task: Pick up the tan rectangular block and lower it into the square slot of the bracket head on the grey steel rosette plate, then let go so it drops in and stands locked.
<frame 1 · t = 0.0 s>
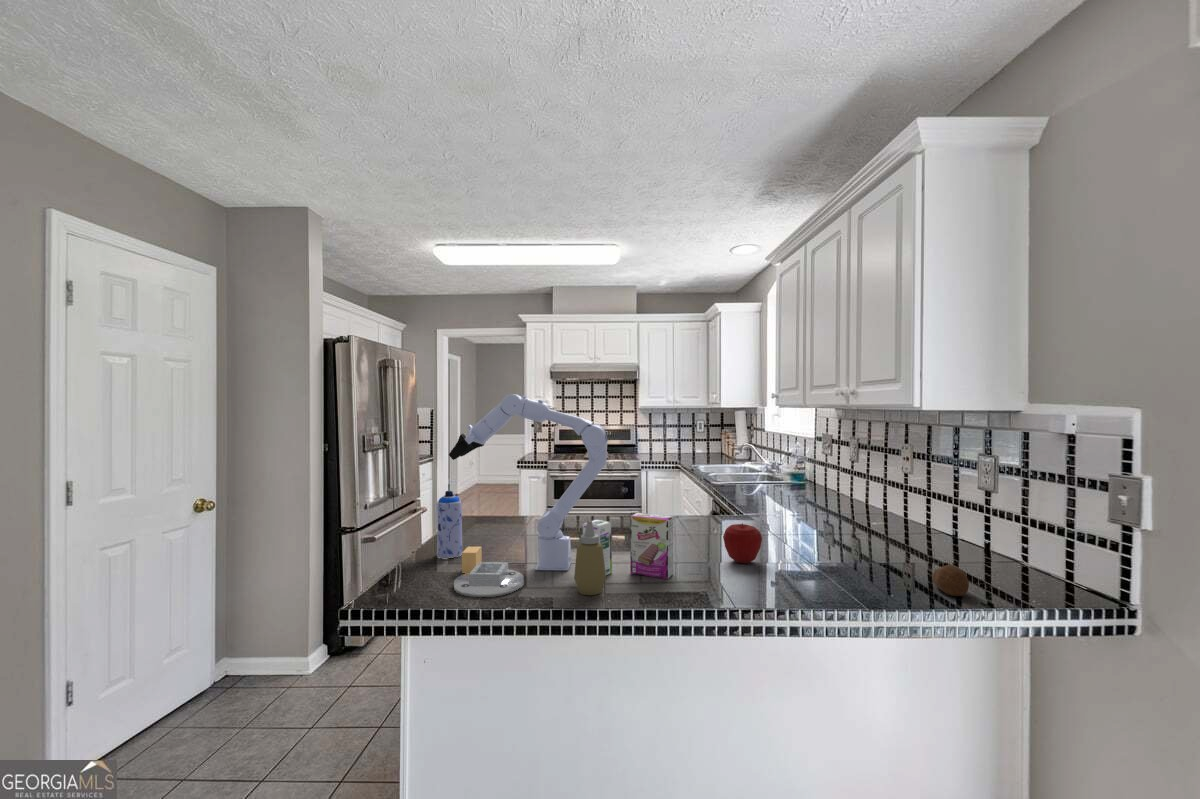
hand: (455, 455, 167), 32 cm above the counter, tool tilted 50°, fingers open, 7 cm apart
candy bar box: (651, 575, 158), on the counter
rosette: (489, 585, 151), on the counter
tan rectangular block: (472, 570, 164), on the counter
squeeze bottle: (590, 592, 145), on the counter
aerosol can: (450, 556, 178), on the counter
syrup box: (597, 574, 159), on the counter
potato: (950, 593, 143), on the counter
apple: (742, 562, 169), on the counter
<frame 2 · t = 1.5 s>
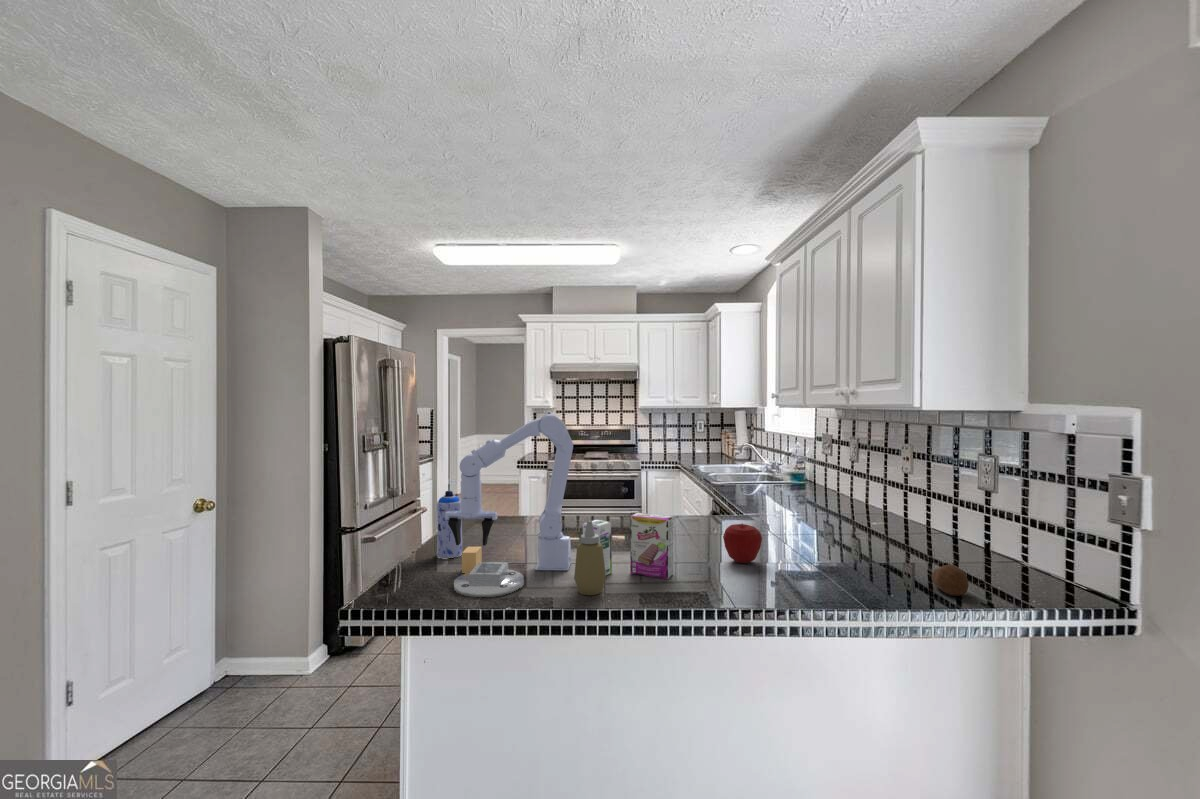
hand: (471, 544, 163), 7 cm above the counter, tool pointing down, fingers open, 7 cm apart
nothing on the counter moved.
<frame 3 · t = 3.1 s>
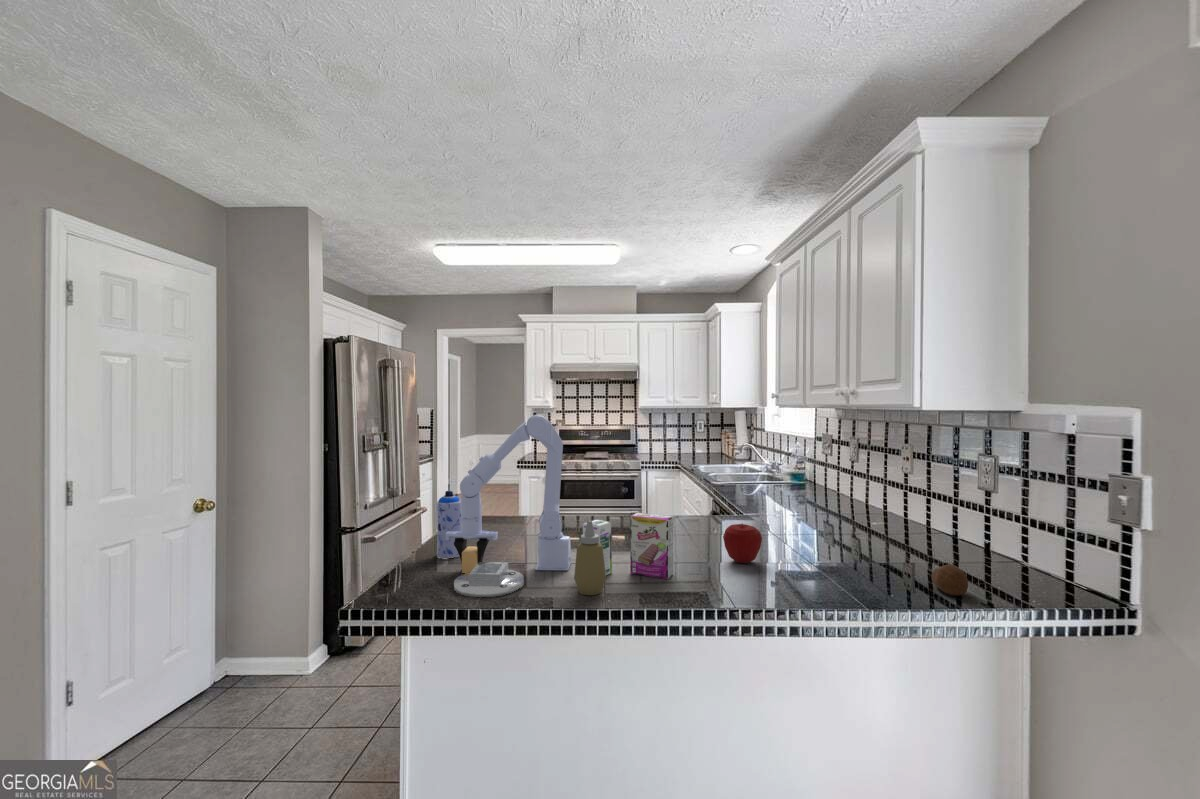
hand: (472, 564, 163), 2 cm above the counter, tool pointing down, fingers closed on tan rectangular block, 4 cm apart
tan rectangular block: (472, 570, 163), on the counter, touching gripper
everything else where it was.
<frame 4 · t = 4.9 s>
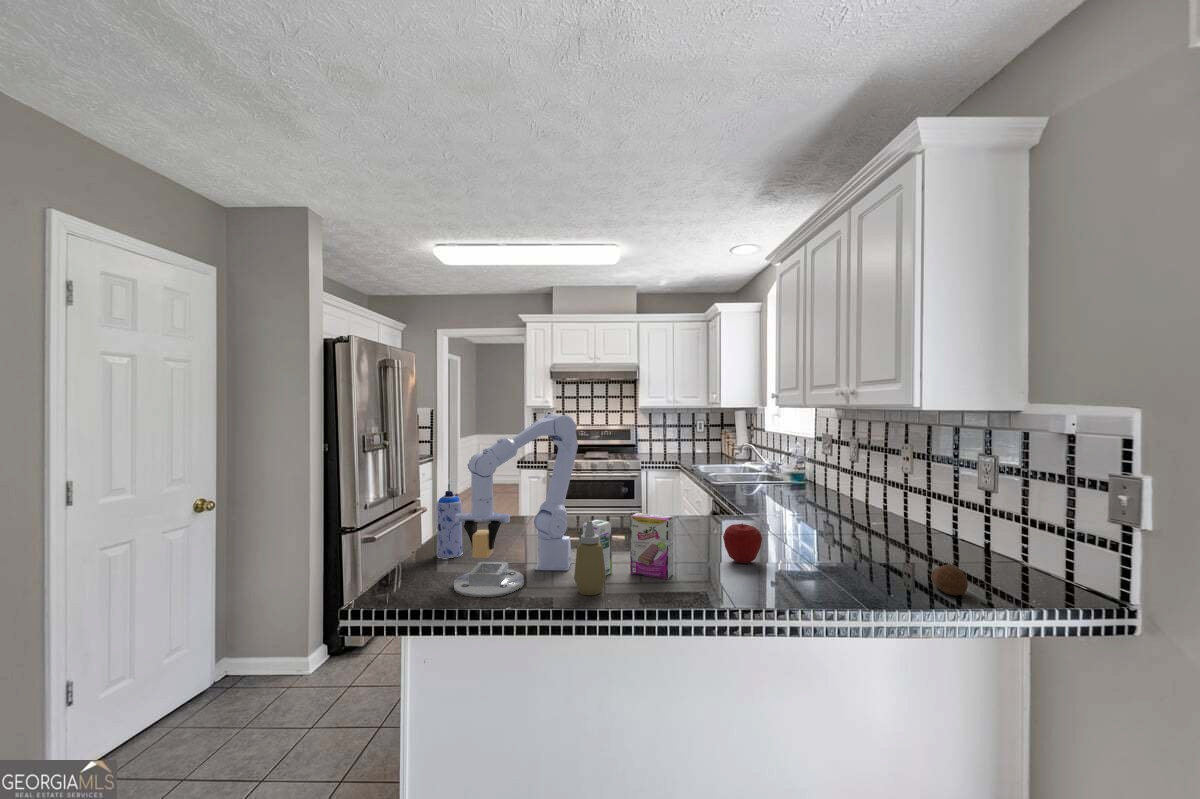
hand: (483, 548, 155), 9 cm above the counter, tool pointing down, fingers closed on tan rectangular block, 4 cm apart
tan rectangular block: (483, 554, 155), point 7 cm above the counter, touching gripper
everything else where it was.
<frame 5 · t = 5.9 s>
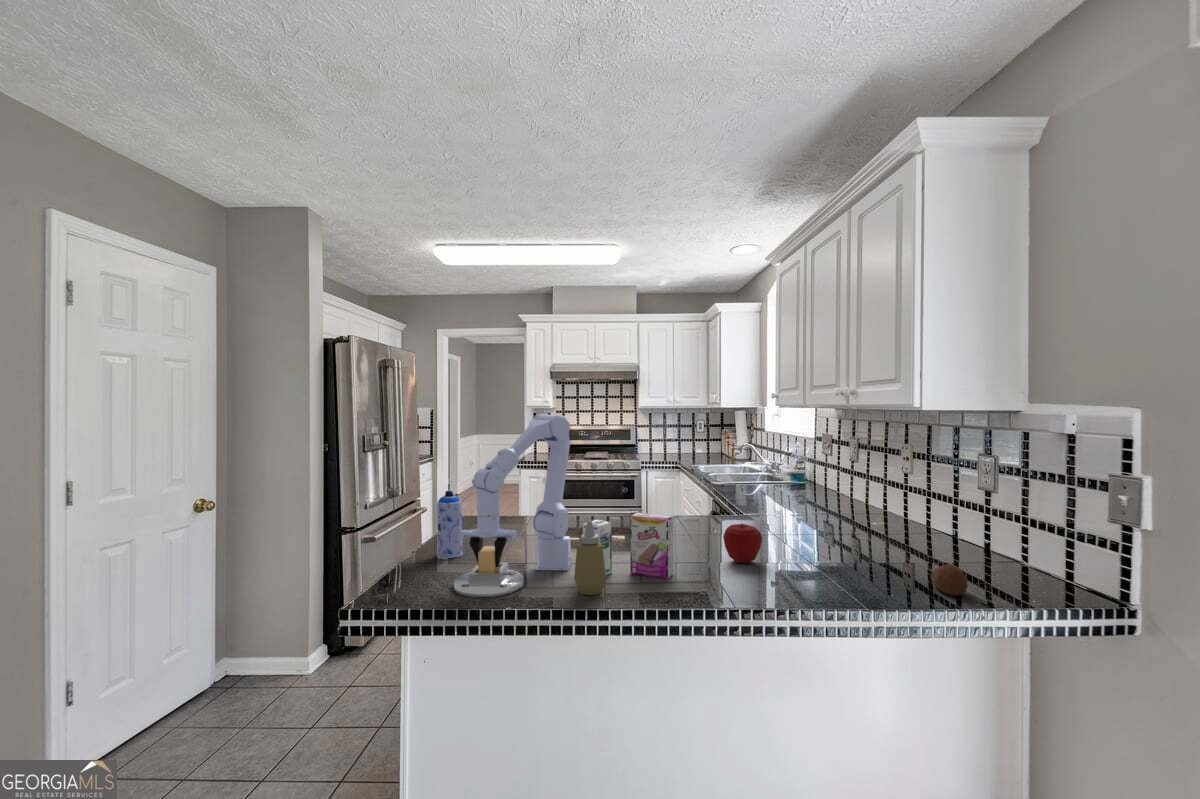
hand: (488, 565, 151), 5 cm above the counter, tool pointing down, fingers closed on tan rectangular block, 4 cm apart
tan rectangular block: (489, 572, 151), point 3 cm above the counter, touching gripper
everything else where it was.
when the fingers open (5 cm above the counter, at t = 6.7 s): tan rectangular block drops 2 cm, resting on rosette.
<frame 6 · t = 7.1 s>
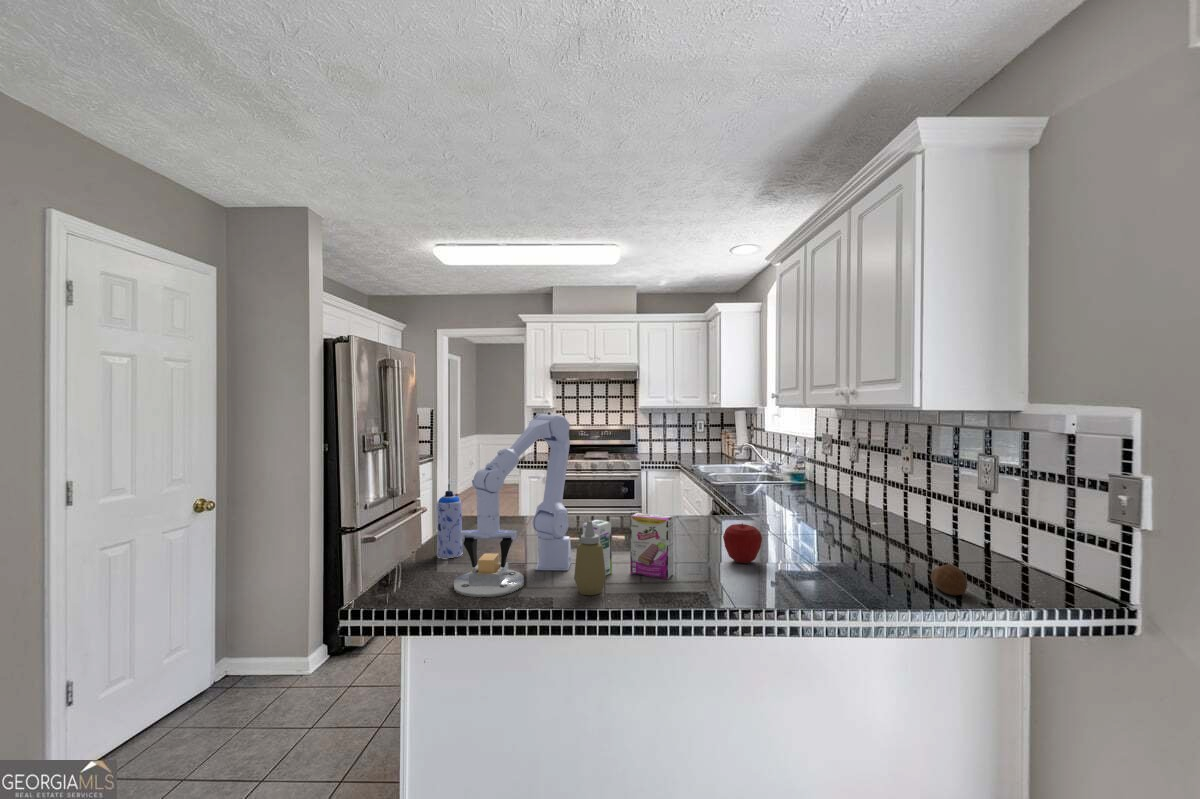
hand: (489, 566, 151), 5 cm above the counter, tool pointing down, fingers open, 7 cm apart
tan rectangular block: (489, 579, 151), point 1 cm above the counter, touching rosette
everything else where it was.
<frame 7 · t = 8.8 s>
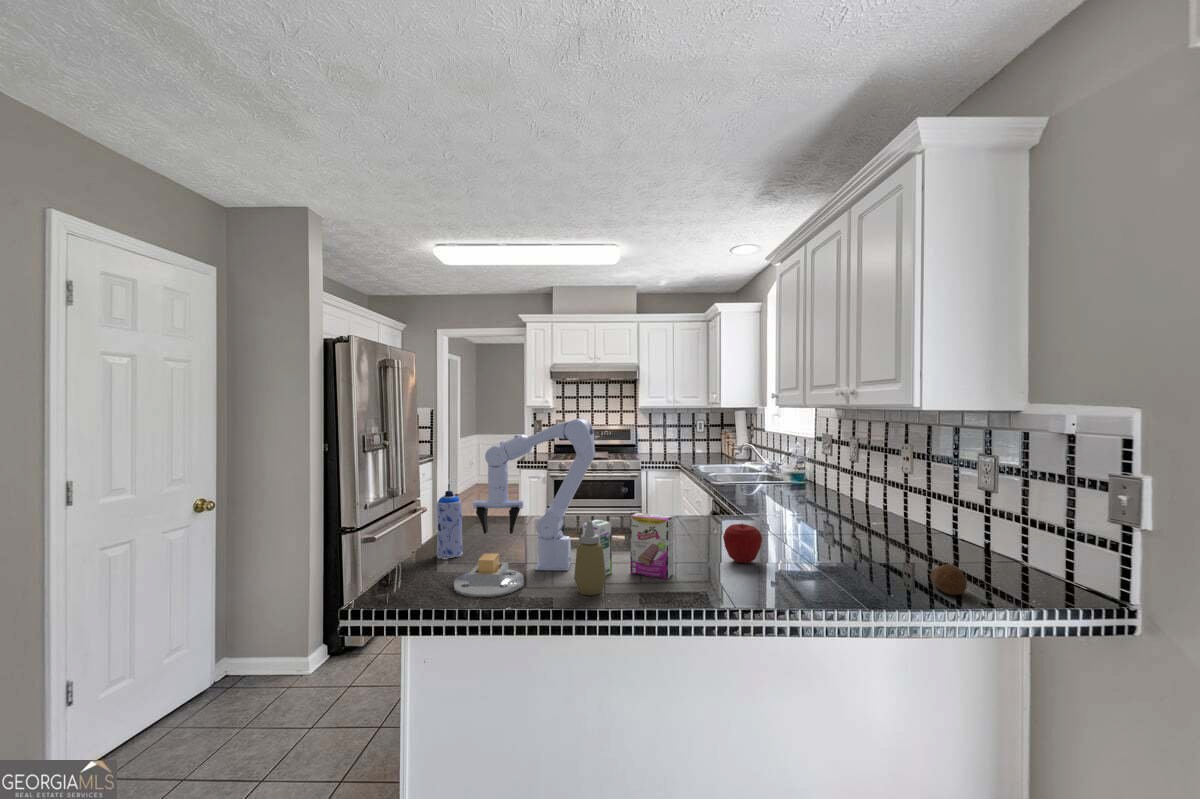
hand: (498, 532, 168), 9 cm above the counter, tool pointing down, fingers open, 7 cm apart
nothing on the counter moved.
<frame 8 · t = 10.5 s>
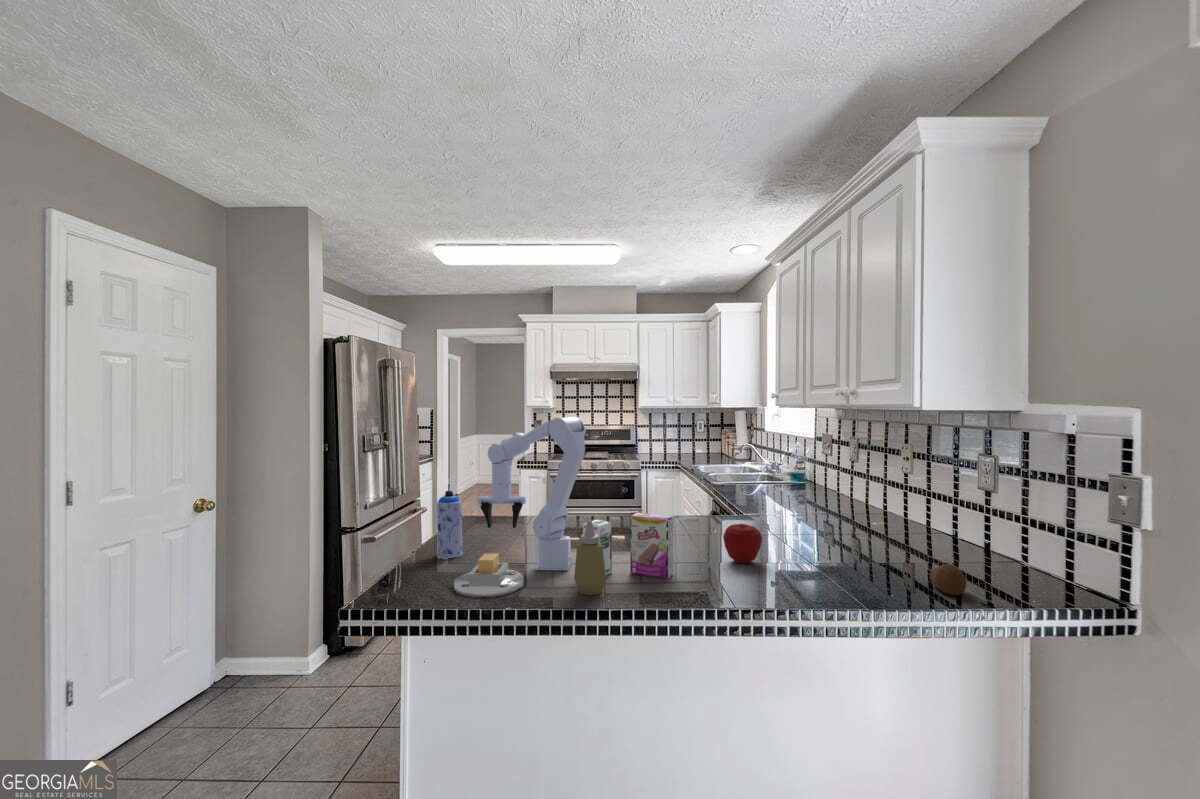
hand: (502, 527, 175), 9 cm above the counter, tool pointing down, fingers open, 7 cm apart
nothing on the counter moved.
at the end: tan rectangular block 0.0 cm off-centre on the rosette, point 1.5 cm above the rosette's base; tan rectangular block tilted 0°; the gripper is holding nothing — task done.
